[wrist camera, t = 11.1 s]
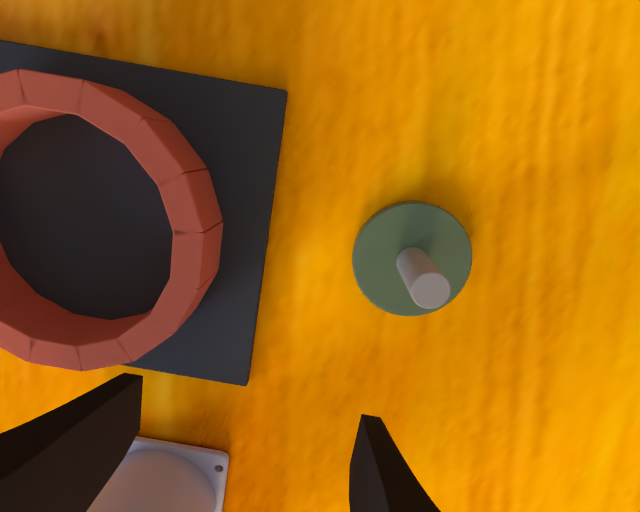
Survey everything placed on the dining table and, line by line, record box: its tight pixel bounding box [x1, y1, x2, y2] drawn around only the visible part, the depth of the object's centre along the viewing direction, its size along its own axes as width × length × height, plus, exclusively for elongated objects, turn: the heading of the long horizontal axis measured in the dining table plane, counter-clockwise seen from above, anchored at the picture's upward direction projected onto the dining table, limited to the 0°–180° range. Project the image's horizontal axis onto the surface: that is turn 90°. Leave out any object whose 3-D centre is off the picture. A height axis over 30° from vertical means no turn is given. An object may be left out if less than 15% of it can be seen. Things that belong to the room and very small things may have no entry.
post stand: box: [352, 201, 472, 316], centre depth 18 cm, size 6×6×5 cm
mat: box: [0, 40, 288, 386], centre depth 21 cm, size 16×17×1 cm
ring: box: [0, 69, 223, 371], centre depth 19 cm, size 13×13×3 cm
